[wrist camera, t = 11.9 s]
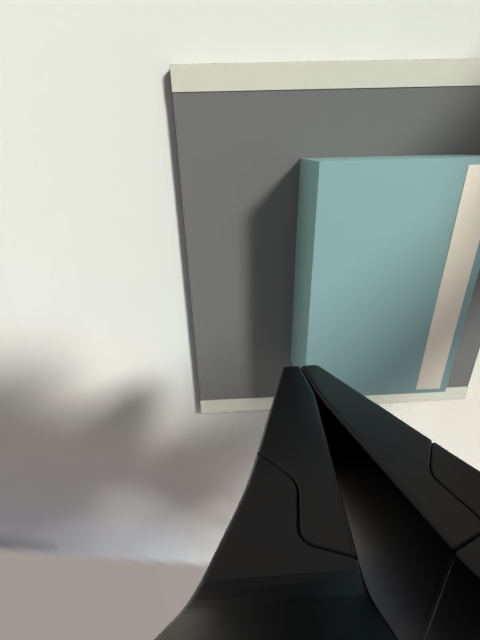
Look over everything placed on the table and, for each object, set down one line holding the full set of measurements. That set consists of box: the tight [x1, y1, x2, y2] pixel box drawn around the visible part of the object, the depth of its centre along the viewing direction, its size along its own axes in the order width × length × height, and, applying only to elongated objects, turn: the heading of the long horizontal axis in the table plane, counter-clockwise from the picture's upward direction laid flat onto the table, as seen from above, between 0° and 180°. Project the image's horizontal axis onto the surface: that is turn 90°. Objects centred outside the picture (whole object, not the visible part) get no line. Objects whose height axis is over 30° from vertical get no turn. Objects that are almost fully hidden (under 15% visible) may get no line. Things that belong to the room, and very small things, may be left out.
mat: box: [170, 58, 480, 413], centre depth 16 cm, size 14×15×1 cm
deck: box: [291, 154, 480, 396], centre depth 14 cm, size 3×9×6 cm
